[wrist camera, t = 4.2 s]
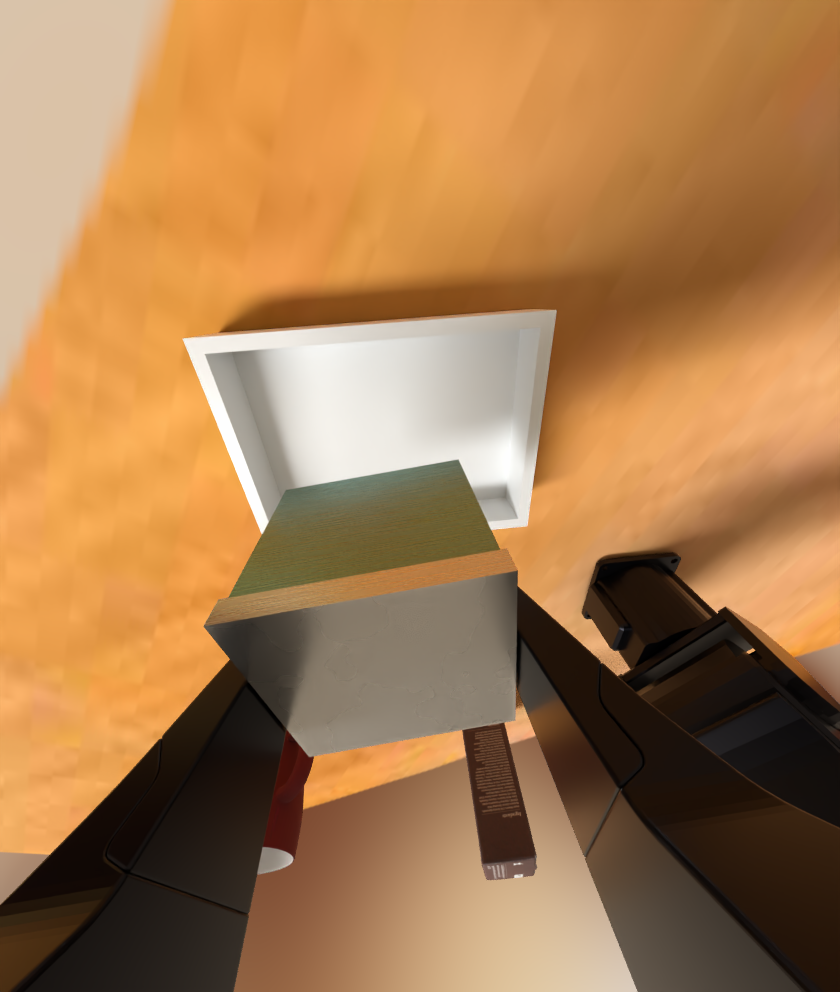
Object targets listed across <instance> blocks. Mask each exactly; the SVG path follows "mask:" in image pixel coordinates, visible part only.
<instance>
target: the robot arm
mask: <svg viewBox="0 0 840 992" xmlns="http://www.w3.org/2000/svg"><path fill="white" fill-rule="evenodd" d="M680 560H681V557H680V556H679V555H677V554H676V553H664V554H655V555H645V556H636V557H626V558H616V559H607V560H601V561H599V562H598V563H597V564H596V567H595V570H594V573H593V577H592V580H591V583H590V587H589V590H588V593H587V597H586V600H585V603H584V607H583V610H582V615H583V616H584V618H585V619H592V620H593V622H594V623H595V625H596V626H597V628H598V629H599V631H600V632H601V634H602V636H603V637H604V639H605V640H606V642H607V643H608V645H609V647H610V648H611V649H612V650H614V651H619V653H620V654H621V656H622V657H623V659H624V660H625V662H626V663H627V665H628V666H629V668H630V669H631V670H629V671H628V672H626V673H625V674H623V675H622V674H620V675H619V676H617V675H616V674H615V673H613V672H612V671H611V670H610V669H609V668H608V667H607V666H606V665H605V664H603V663H601V662H600V660H599V659H598V658H597V657H596V656H595V655H593V654H592V653H591V652H590V651H589V650H588V649H587V648H586V647H585V646H583V645H582V644H581V643H580V642H579V641H578V640H577V639H576V638H575V637H573V636H572V635H571V634H570V633H569V632H568V631H567V630H566V629H565V628H563V627H562V626H561V625H560V624H559V623H558V622H557V621H556V620H555V619H554V618H552V617H551V616H550V615H549V614H548V613H547V612H546V611H545V610H544V609H542V608H541V607H540V606H539V605H538V604H537V603H536V602H535V601H534V600H532V599H531V598H530V597H529V596H528V595H527V594H526V593H525V592H524V591H522V590H521V589H520V588H519V587H518V586H517V647H516V687H517V689H518V692H519V694H520V697H521V699H522V702H523V704H524V707H525V709H526V712H527V714H528V717H529V719H530V722H531V724H532V727H533V729H534V732H535V734H536V737H537V739H538V742H539V745H540V747H541V749H542V752H543V755H544V757H545V759H546V762H547V765H548V767H549V770H550V772H551V775H552V777H553V780H554V782H555V784H556V787H557V790H558V792H559V795H560V797H561V800H562V802H563V805H564V807H565V810H566V812H567V815H568V817H569V820H570V822H571V825H572V827H573V830H574V833H575V835H576V838H577V840H578V843H579V845H580V848H581V850H582V853H583V855H584V856H585V857H586V858H585V860H586V863H587V865H588V868H589V871H590V873H591V876H592V878H593V881H594V883H595V886H596V888H597V891H598V893H599V896H600V898H601V901H602V903H603V905H604V908H605V911H606V913H607V916H608V918H609V921H610V923H611V926H612V928H613V931H614V933H615V936H616V938H617V941H618V943H619V946H620V948H621V951H622V953H623V956H624V958H625V961H626V963H627V966H628V968H629V971H630V973H631V976H632V979H633V981H634V984H635V986H636V989H637V991H638V992H840V704H839V703H838V702H837V701H836V700H835V699H834V698H833V697H832V696H831V695H830V694H829V693H828V692H827V691H826V690H825V689H824V688H823V686H822V685H821V684H819V682H818V681H817V680H816V679H815V678H814V677H813V676H812V675H811V674H810V673H809V672H808V671H807V670H806V669H805V668H804V667H803V666H802V665H801V664H800V663H799V662H798V661H797V660H796V659H795V658H794V657H793V656H792V655H790V654H789V653H788V652H787V651H786V650H784V649H783V648H782V647H781V646H780V645H779V644H777V643H776V642H775V641H774V640H773V639H771V638H770V637H769V636H768V635H767V634H766V633H764V632H763V631H762V630H761V629H759V628H758V627H756V626H755V625H753V624H752V623H750V622H749V621H747V620H746V619H744V618H743V617H741V616H740V615H738V614H737V613H735V612H733V611H732V610H730V609H729V608H727V607H726V606H725V607H724V608H722V609H721V610H719V611H718V612H719V613H718V614H717V613H716V612H715V611H714V610H713V609H712V608H711V607H710V606H709V605H708V604H707V603H706V602H704V601H703V600H702V599H701V598H700V597H699V596H698V595H697V594H696V593H695V592H694V591H693V590H692V589H691V588H690V587H689V586H688V585H687V584H685V583H684V582H683V581H682V580H681V579H680V578H679V577H678V576H677V575H676V574H675V571H676V569H677V567H678V565H679V562H680ZM752 648H754V649H755V650H756V651H754V652H752V653H751V654H748V653H747V651H748V650H750V649H752ZM600 663H601V664H600ZM286 730H287V729H286V728H285V726H284V725H283V724H282V723H281V722H280V720H279V719H278V718H277V717H276V715H275V714H274V713H273V712H272V710H271V709H270V708H269V707H268V705H267V704H266V703H265V702H264V700H263V699H262V698H261V697H260V696H259V694H258V693H257V692H256V691H255V689H254V688H253V687H252V686H251V684H250V683H249V682H248V681H247V679H246V678H245V677H244V676H243V675H242V673H241V672H240V671H239V670H238V668H237V667H236V666H235V665H234V663H233V662H232V661H231V660H229V661H228V662H227V663H226V665H225V666H224V667H223V668H222V669H221V670H220V671H219V672H218V674H217V675H216V676H215V677H214V678H213V679H212V680H211V681H210V683H209V684H208V685H207V686H206V687H205V688H204V689H203V690H202V692H201V693H200V694H199V695H198V696H197V697H196V698H195V699H194V701H193V702H192V703H191V704H190V705H189V706H188V707H187V708H186V710H185V711H184V712H183V713H182V714H181V715H180V716H179V718H178V719H177V720H176V721H175V722H174V723H173V724H172V725H171V727H170V728H169V729H168V730H167V731H166V732H165V733H164V734H163V736H162V739H159V740H158V741H157V742H156V743H155V744H154V746H153V747H152V748H151V749H150V750H149V751H148V752H147V753H146V755H145V756H144V757H143V758H142V759H141V760H140V761H139V762H138V763H137V764H136V766H135V767H134V768H133V769H132V770H131V771H130V772H129V773H128V774H127V775H126V777H125V778H124V779H123V780H122V781H121V782H120V783H119V784H118V785H117V786H116V787H115V788H114V789H113V790H112V791H111V793H110V794H109V795H108V796H107V797H106V798H105V799H104V800H103V801H102V802H101V803H100V804H99V805H98V806H97V807H96V808H95V809H94V810H93V811H92V812H91V813H90V814H89V815H88V816H87V817H86V818H85V819H84V820H83V822H82V823H81V824H80V825H79V826H78V827H77V828H76V829H75V830H74V831H73V832H72V833H71V834H70V835H69V836H68V837H67V838H66V839H65V840H64V841H63V842H62V843H61V844H60V845H59V846H58V847H57V848H56V849H55V850H54V851H53V852H52V853H51V854H50V855H49V856H48V857H47V858H46V859H45V860H44V861H43V862H42V863H41V864H40V865H39V866H38V867H37V868H36V869H35V870H34V871H33V872H32V873H31V874H30V875H29V876H28V877H27V878H26V880H25V881H24V882H23V883H22V884H21V885H20V886H19V887H18V888H17V889H16V890H15V891H14V892H13V893H12V894H11V895H10V896H9V897H7V898H6V900H4V901H3V902H2V904H0V992H234V987H235V982H236V977H237V972H238V967H239V962H240V957H241V952H242V948H243V943H244V938H245V933H246V927H247V923H248V918H249V915H248V913H249V912H250V907H251V902H252V897H253V892H254V887H255V882H256V877H257V873H258V868H259V863H260V858H261V853H262V848H263V843H264V838H265V833H266V828H267V824H268V819H269V814H270V809H271V804H272V799H273V794H274V789H275V784H276V779H277V774H278V770H279V765H280V760H281V755H282V750H283V745H284V740H285V735H286Z"/></svg>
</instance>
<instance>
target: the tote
mask: <svg viewBox="0 0 840 992" xmlns="http://www.w3.org/2000/svg"><path fill="white" fill-rule="evenodd" d="M556 313H557V310H543V309H523V310H510V311H497V312H484V313H471V314H458V315H445V316H432V317H419V318H405V319H392V320H379V321H366V322H353V323H340V324H327V325H314V326H301V327H287V328H274V329H261V330H248V331H235V332H222V333H214V334H208V335H202V336H196V337H190V338H183V341H184V343H185V346H186V348H187V351H188V353H189V355H190V358H191V360H192V363H193V365H194V368H195V370H196V373H197V375H198V378H199V380H200V383H201V385H202V388H203V390H204V393H205V395H206V397H207V400H208V402H209V405H210V407H211V410H212V412H213V415H214V417H215V420H216V422H217V425H218V427H219V430H220V432H221V434H222V437H223V439H224V442H225V444H226V447H227V449H228V452H229V454H230V457H231V459H232V462H233V464H234V467H235V469H236V472H237V474H238V476H239V479H240V481H241V484H242V486H243V489H244V491H245V494H246V496H247V499H248V501H249V504H250V506H251V509H252V511H253V514H254V516H255V518H256V521H257V523H258V526H259V528H260V531H261V533H262V534H263V532H264V530H265V528H266V526H267V524H268V523H269V521H270V519H271V517H272V515H273V513H274V511H275V509H276V508H277V506H278V504H279V502H280V500H281V498H282V496H283V494H284V493H285V491H286V490H289V489H295V488H300V487H306V486H311V485H317V484H323V483H328V482H334V481H340V480H345V479H351V478H356V477H362V476H368V475H373V474H379V473H385V472H390V471H396V470H401V469H407V468H413V467H418V466H424V465H430V464H435V463H441V462H447V461H452V460H458V459H459V462H460V464H461V466H462V468H463V470H464V472H465V475H466V477H467V479H468V481H469V483H470V485H471V488H472V490H473V492H474V494H475V496H476V498H477V501H478V503H479V505H480V507H481V509H482V511H483V514H484V516H485V518H486V520H487V522H488V524H489V527H490V529H491V530H494V529H504V528H514V527H524V526H527V524H528V517H529V509H530V502H531V495H532V487H533V480H534V473H535V466H536V458H537V451H538V444H539V436H540V429H541V422H542V415H543V407H544V400H545V393H546V385H547V378H548V371H549V364H550V356H551V349H552V342H553V334H554V327H555V320H556Z"/></svg>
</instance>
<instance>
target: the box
mask: <svg viewBox="0 0 840 992" xmlns="http://www.w3.org/2000/svg"><path fill="white" fill-rule="evenodd" d="M462 731H463V739H464V745H465V752H466V758H467V763H468V771H469V778H470V784H471V790H472V798H473V804H474V811H475V819H476V825H477V832H478V838H479V846H480V854H481V862H482V867H483V870H484V873H485V876H486V879H487V880H498V879H507V878H517V877H526V876H533V875H534V873H535V870H536V868H537V865H536V858H537V856H536V852H535V847H534V844H533V840H532V835H531V831H530V827H529V823H528V818H527V814H526V810H525V806H524V802H523V798H522V793H521V790H520V786H519V781H518V777H517V773H516V769H515V765H514V762H513V757H512V753H511V748H510V744H509V740H508V736H507V732H506V728H505V724H504V723H499V724H493V725H487V726H482V727H476V728H470V729H465V730H462Z"/></svg>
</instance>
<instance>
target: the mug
mask: <svg viewBox="0 0 840 992" xmlns="http://www.w3.org/2000/svg"><path fill="white" fill-rule="evenodd" d="M313 759H314V756H312V757H309V756H308V755H307V754H306V752H305V751H304V750H303V749H302V747H301V746H300V745H299V744H298V743H297V741H296V740H295V739H294V738H293V736H292V735H291V734H290V733H289V731H288V730H286V735H285V740H284V745H283V750H282V755H281V760H280V765H279V770H278V774H277V779H276V784H275V789H274V794H273V799H272V804H271V809H270V814H269V819H268V824H267V828H266V833H265V838H264V843H263V848H262V853H261V858H260V863H259V868H258V873H257V874H262V873H268V872H272V871H276V870H279V869H282V868H285V867H287V866H289V865H290V864H291V863H292V862H293V861H294V859H295V854H296V849H297V844H298V839H299V833H300V827H301V821H302V813H303V797H304V785H305V783H306V781H307V778H308V776H309V773H310V770H311V767H312V763H313Z"/></svg>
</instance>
